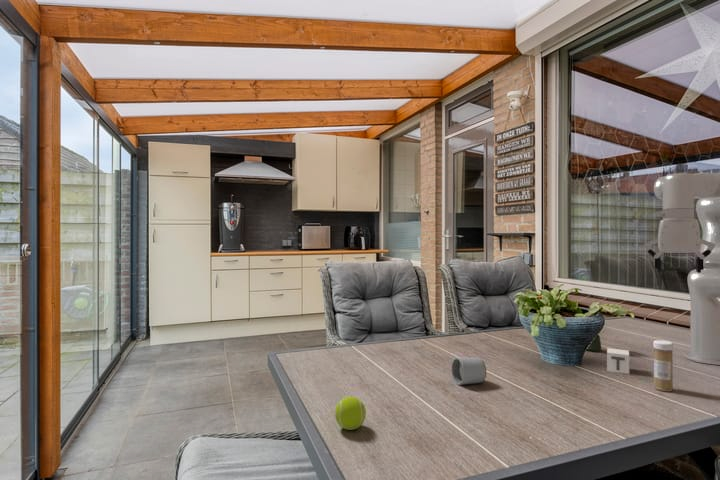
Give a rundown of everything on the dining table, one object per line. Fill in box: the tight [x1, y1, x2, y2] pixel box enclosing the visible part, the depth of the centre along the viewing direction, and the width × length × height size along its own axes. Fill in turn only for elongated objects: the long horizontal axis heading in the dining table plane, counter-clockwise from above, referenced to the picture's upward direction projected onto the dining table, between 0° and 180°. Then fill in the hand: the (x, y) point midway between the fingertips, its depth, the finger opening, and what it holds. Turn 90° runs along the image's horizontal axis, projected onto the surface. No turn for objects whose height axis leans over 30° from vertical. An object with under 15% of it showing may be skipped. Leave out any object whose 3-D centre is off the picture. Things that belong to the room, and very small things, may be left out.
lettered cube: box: [606, 347, 630, 375], centre depth 138 cm, size 6×6×6 cm
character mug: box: [587, 329, 604, 352], centre depth 161 cm, size 11×7×13 cm, turn 116°
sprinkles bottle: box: [652, 339, 674, 393], centre depth 120 cm, size 5×5×13 cm
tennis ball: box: [334, 396, 367, 431], centre depth 97 cm, size 7×7×7 cm
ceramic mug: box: [451, 357, 487, 386], centre depth 128 cm, size 11×8×8 cm
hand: (678, 271), depth 129 cm, fingers open, 9 cm apart
